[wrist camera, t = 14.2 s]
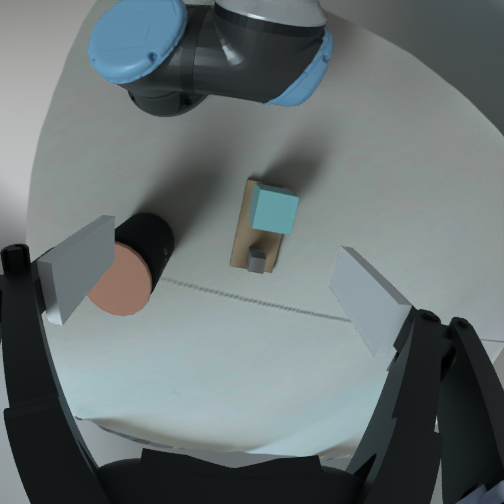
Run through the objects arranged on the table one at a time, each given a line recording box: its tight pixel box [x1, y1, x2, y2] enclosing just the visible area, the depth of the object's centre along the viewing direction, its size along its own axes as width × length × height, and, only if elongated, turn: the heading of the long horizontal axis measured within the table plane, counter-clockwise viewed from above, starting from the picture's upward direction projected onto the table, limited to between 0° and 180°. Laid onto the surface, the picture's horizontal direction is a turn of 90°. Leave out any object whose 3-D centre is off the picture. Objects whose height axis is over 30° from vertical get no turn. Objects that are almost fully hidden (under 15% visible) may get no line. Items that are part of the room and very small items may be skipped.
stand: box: [230, 179, 293, 274], centre depth 46 cm, size 8×16×10 cm, turn 168°
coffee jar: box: [87, 213, 174, 316], centre depth 41 cm, size 11×11×18 cm
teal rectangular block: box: [248, 183, 299, 235], centre depth 43 cm, size 6×6×9 cm
